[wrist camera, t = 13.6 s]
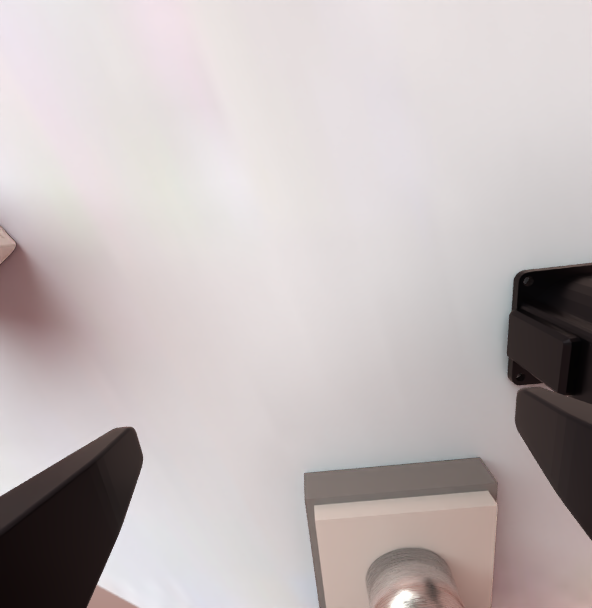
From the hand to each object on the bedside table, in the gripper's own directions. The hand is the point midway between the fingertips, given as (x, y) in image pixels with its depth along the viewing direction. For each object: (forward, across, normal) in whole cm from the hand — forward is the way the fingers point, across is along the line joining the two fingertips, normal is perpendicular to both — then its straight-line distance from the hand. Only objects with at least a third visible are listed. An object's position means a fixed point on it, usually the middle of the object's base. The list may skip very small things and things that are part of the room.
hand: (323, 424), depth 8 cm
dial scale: (+11, -4, +18) cm, 21 cm away
